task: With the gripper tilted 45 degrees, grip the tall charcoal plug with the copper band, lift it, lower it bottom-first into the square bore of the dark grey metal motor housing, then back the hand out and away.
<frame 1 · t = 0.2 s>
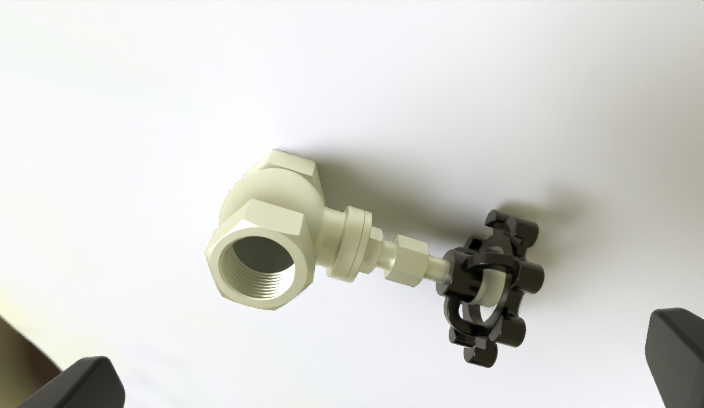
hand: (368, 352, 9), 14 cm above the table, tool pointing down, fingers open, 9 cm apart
valve: (366, 208, 24), on the table
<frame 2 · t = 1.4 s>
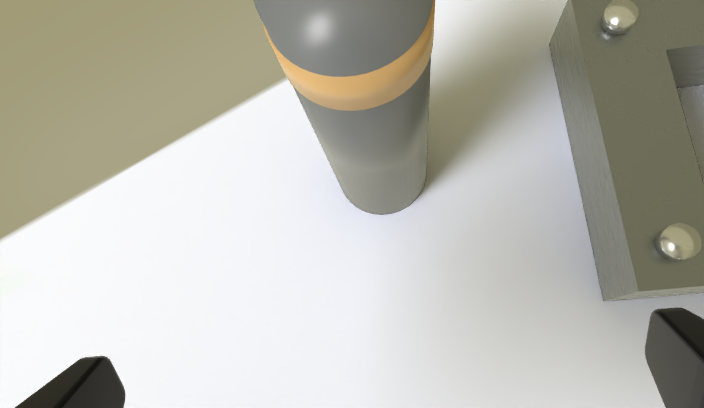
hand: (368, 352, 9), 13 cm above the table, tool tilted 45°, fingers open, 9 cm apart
plug: (382, 172, 24), on the table
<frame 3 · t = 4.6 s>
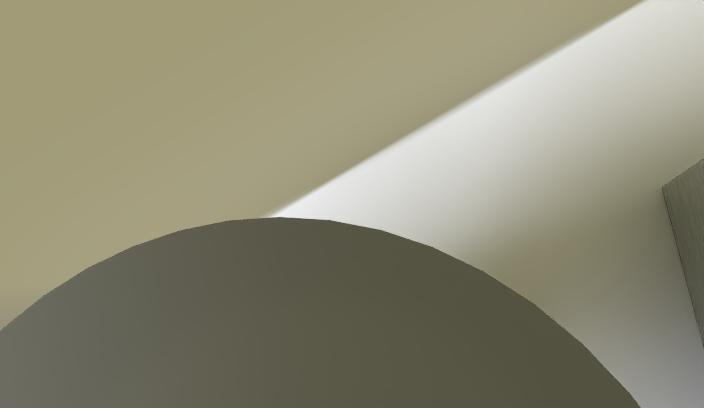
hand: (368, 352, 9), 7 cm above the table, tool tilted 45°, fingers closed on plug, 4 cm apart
plug: (395, 404, 14), on the table, touching gripper
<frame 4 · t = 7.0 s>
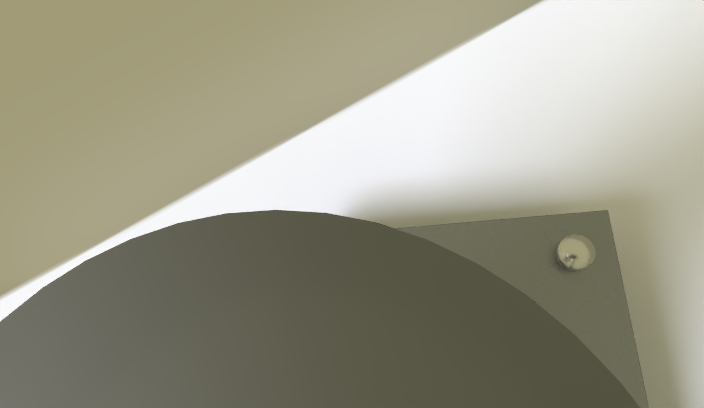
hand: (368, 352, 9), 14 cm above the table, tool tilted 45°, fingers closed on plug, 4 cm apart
motor housing: (452, 388, 21), on the table
plug: (394, 402, 14), point 7 cm above the table, touching gripper
when the fingers open (8 cm above the table, at t = 9.6 s): plug drops 1 cm, resting in motor housing.
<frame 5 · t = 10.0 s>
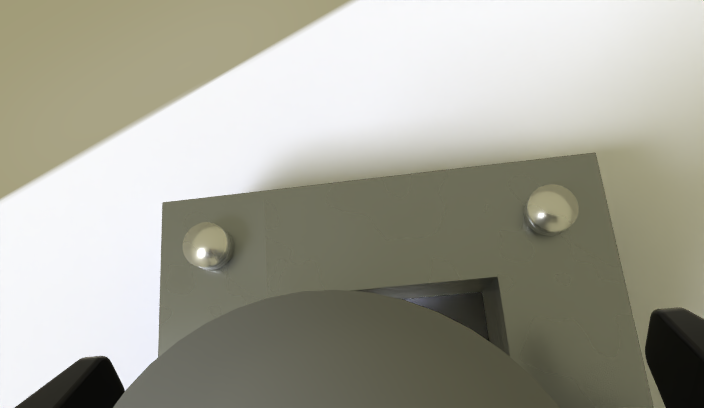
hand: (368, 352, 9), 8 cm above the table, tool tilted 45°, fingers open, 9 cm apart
motor housing: (397, 398, 16), on the table
plug: (397, 400, 16), resting in motor housing
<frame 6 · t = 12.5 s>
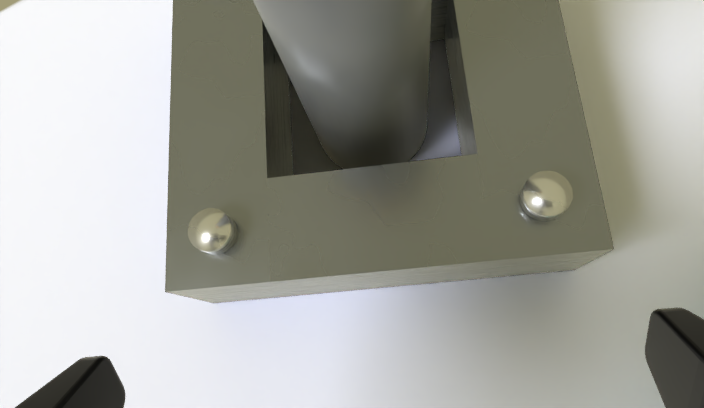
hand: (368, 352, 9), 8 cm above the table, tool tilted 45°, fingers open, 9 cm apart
motor housing: (372, 122, 19), on the table
plug: (371, 123, 19), resting in motor housing
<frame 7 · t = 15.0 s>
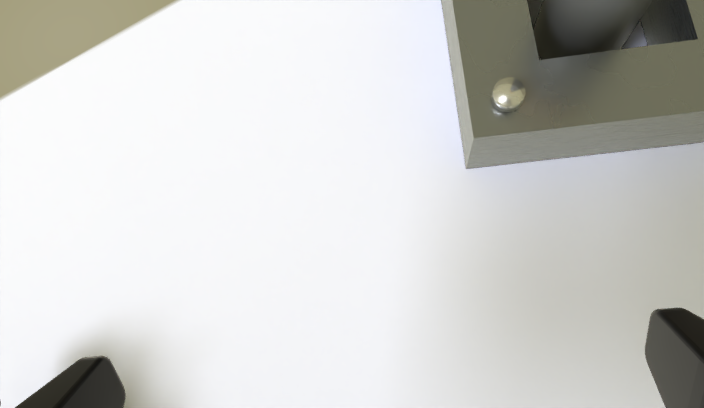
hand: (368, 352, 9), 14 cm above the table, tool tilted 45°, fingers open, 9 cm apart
motor housing: (576, 36, 24), on the table
plug: (576, 36, 24), resting in motor housing
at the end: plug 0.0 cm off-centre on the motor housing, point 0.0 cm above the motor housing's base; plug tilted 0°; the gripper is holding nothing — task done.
